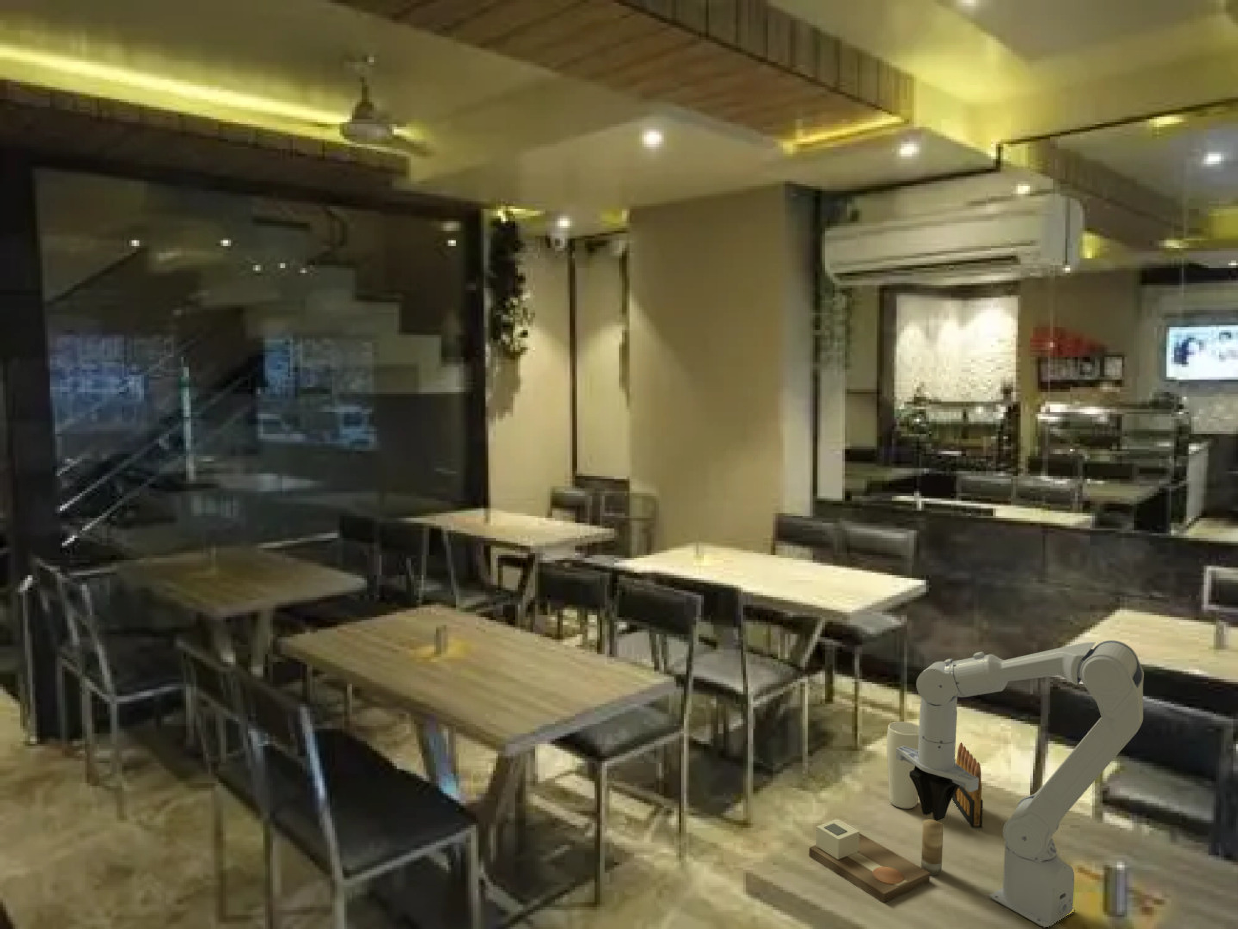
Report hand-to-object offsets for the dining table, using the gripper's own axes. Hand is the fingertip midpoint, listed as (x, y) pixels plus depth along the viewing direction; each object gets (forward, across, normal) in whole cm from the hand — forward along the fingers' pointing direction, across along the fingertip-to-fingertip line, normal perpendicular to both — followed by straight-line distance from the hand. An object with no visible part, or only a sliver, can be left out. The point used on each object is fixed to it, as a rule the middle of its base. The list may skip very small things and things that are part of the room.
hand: (933, 816), depth 145 cm
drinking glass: (+10, +18, -15) cm, 25 cm away
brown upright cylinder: (+9, 0, 0) cm, 9 cm away
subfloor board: (+9, +6, +8) cm, 14 cm away
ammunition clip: (+10, +9, -22) cm, 26 cm away
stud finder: (+8, +11, +10) cm, 17 cm away
